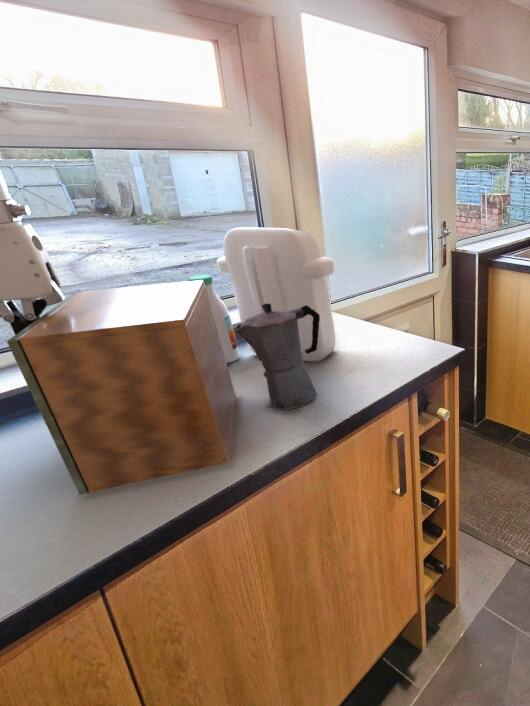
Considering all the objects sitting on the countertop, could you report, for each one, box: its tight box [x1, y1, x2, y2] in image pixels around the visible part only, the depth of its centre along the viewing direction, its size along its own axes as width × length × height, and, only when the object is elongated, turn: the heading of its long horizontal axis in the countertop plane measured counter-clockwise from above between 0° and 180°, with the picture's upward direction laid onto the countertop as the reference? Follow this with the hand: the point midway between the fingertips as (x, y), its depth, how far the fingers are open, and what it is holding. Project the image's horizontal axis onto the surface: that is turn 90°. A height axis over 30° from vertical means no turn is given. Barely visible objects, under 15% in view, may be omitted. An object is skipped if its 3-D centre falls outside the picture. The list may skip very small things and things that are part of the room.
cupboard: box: [19, 280, 237, 493], centre depth 81 cm, size 18×26×24 cm
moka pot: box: [233, 303, 320, 410], centre depth 95 cm, size 10×15×20 cm, turn 137°
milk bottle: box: [187, 274, 241, 364], centre depth 115 cm, size 8×8×20 cm
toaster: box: [216, 226, 336, 362], centre depth 115 cm, size 27×11×30 cm, turn 77°
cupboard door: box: [6, 291, 89, 495], centre depth 77 cm, size 7×26×24 cm, turn 24°
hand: (35, 344), depth 74 cm, fingers closed
